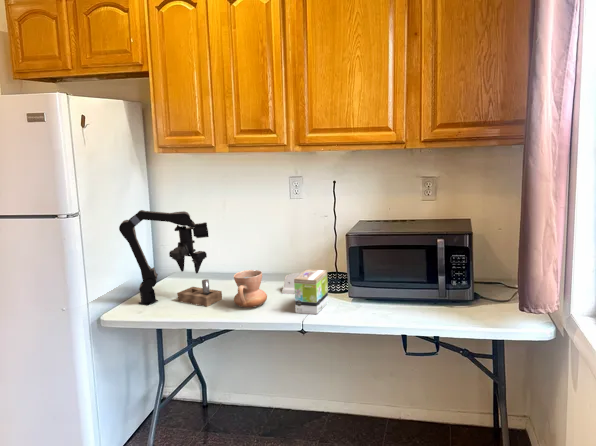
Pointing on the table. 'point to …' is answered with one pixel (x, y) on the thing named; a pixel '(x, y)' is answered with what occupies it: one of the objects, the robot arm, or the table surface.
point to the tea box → (311, 291)
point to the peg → (205, 287)
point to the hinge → (289, 284)
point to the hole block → (199, 296)
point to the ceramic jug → (249, 289)
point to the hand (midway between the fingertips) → (189, 272)
